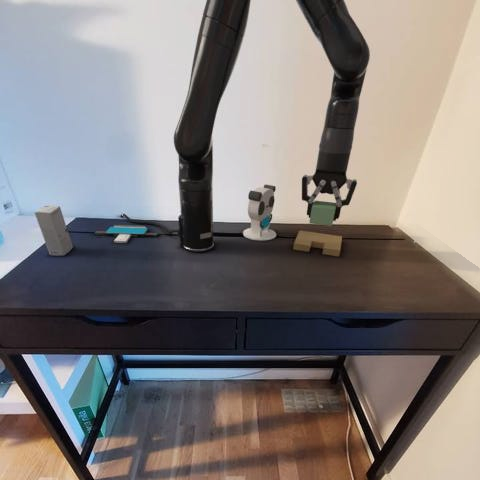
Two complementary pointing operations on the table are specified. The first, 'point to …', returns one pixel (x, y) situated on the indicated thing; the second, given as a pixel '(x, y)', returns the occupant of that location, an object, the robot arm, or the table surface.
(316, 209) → the green rectangular block
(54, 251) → the cosmetic box
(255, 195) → the panda figurine
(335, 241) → the base pad
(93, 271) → the table surface
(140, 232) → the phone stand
